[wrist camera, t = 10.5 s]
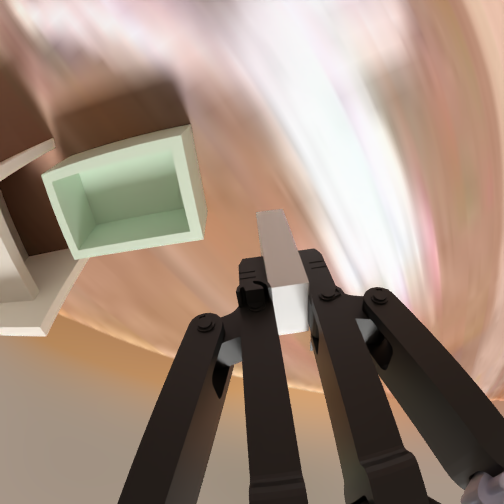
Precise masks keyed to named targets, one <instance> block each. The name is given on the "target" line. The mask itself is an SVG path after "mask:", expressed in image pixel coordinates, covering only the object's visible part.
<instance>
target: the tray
mask: <svg viewBox="0 0 504 504" xmlns="http://www.w3.org/2000/svg"><path fill="white" fill-rule="evenodd" d="M41 176H42V179H43V182H44V185H45V188H46V191H47V194H48V197H49V200H50V202H51V205H52V208H53V210H54V213H55V216H56V218H57V221H58V223H59V226H60V228H61V230H62V233H63V235H64V238H65V240H66V242H67V244H68V247H69V249H70V251H71V253H72V256H73V258H74V260H77V259H83V258H89V257H95V256H101V255H107V254H113V253H119V252H125V251H132V250H138V249H144V248H151V247H157V246H164V245H170V244H177V243H183V242H190V241H197V240H204V233H205V226H206V219H207V212H208V210H207V205H206V201H205V196H204V191H203V186H202V181H201V176H200V171H199V165H198V160H197V155H196V150H195V144H194V139H193V134H192V128H191V124H188V125H183V126H178V127H174V128H169V129H164V130H160V131H156V132H151V133H147V134H143V135H139V136H135V137H131V138H128V139H124V140H120V141H117V142H113V143H110V144H106V145H103V146H100V147H97V148H93V149H90V150H87V151H84V152H81V153H78V154H75V155H72V156H69V157H68V158H66V159H64V160H63V161H61V162H60V163H58V164H57V165H55V166H54V167H52V168H51V169H49V170H48V171H46V172H45V173H43V174H42V175H41Z"/></svg>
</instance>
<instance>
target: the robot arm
mask: <svg viewBox="0 0 504 504" xmlns="http://www.w3.org/2000/svg"><path fill="white" fill-rule="evenodd" d="M256 216H257V225H258V233H259V241H260V249H261V257H254V258H246V259H242V261H241V263H240V264H239V283H240V285H239V286H238V287H237V290H236V294H237V299H238V304H239V307H238V308H237V309H236V310H235V311H234V312H232V313H231V314H229V315H226V316H224V317H221V318H220V317H219V316H218V315H216V314H213V313H204V314H201V315H198V316H196V317H195V318H194V319H192V321H191V322H190V324H189V326H188V328H187V331H186V333H185V335H184V338H183V340H182V342H181V345H180V347H179V349H178V352H177V354H176V356H175V359H174V361H173V364H172V366H171V369H170V371H169V373H168V376H167V378H166V381H165V383H164V385H163V388H162V390H161V393H160V395H159V397H158V400H157V402H156V405H155V407H154V410H153V412H152V415H151V417H150V420H149V422H148V425H147V427H146V430H145V433H144V435H143V437H142V440H141V443H140V445H139V448H138V450H137V453H136V456H135V458H134V461H133V463H132V466H131V469H130V471H129V474H128V477H127V480H126V482H125V485H124V488H123V490H122V493H121V495H120V498H119V501H118V504H196V503H197V500H198V496H199V492H200V489H201V485H202V482H203V478H204V475H205V471H206V467H207V463H208V460H209V456H210V453H211V449H212V446H213V441H214V438H215V435H216V431H217V427H218V423H219V420H220V416H221V412H222V409H223V405H224V401H225V397H226V393H227V390H228V386H229V382H230V379H231V375H232V371H233V367H234V364H236V363H239V362H241V361H242V367H243V383H244V398H245V414H246V428H247V443H248V457H249V470H250V486H249V504H308V500H307V493H306V488H305V483H304V479H303V476H302V471H301V464H300V458H299V452H298V446H297V440H296V434H295V428H294V422H293V415H292V409H291V404H290V398H289V392H288V386H287V380H286V374H285V368H284V363H283V357H282V351H281V345H280V340H279V335H284V334H291V333H298V332H304V331H309V327H310V330H311V343H310V351H314V355H315V359H316V362H317V366H318V370H319V374H320V378H321V382H322V386H323V390H324V395H325V399H326V403H327V407H328V411H329V415H330V419H331V423H332V428H333V432H334V437H335V441H336V445H337V450H338V455H339V459H340V464H341V468H342V473H343V478H344V495H345V502H346V504H441V503H439V502H437V501H435V500H434V499H432V498H430V497H428V496H427V492H426V489H425V485H424V482H423V479H422V475H421V472H420V469H419V466H418V463H417V460H416V458H415V456H414V455H413V454H412V453H411V452H409V451H407V450H406V449H405V448H404V446H403V443H402V440H401V437H400V434H399V431H398V428H397V425H396V422H395V419H394V416H393V414H392V411H391V408H390V405H389V402H388V400H387V397H386V394H385V391H384V389H383V386H382V383H381V381H380V378H379V376H380V377H381V379H382V380H383V382H384V383H385V384H386V386H387V387H388V389H389V390H390V391H391V393H392V394H393V396H394V397H395V398H396V400H397V401H398V403H399V404H400V405H401V407H402V408H403V410H404V411H405V413H406V414H407V415H408V417H409V418H410V420H411V421H412V423H413V424H414V425H415V427H416V428H417V430H418V431H419V433H420V434H421V436H422V437H423V438H424V440H425V441H426V443H427V444H428V446H429V447H430V449H431V450H432V452H433V453H434V455H435V456H436V458H437V459H438V460H439V462H440V463H441V465H442V466H443V468H444V469H445V471H446V472H447V473H448V475H449V476H450V477H451V479H452V480H453V481H455V483H456V484H457V485H459V486H460V487H461V488H462V489H464V490H465V491H464V494H463V495H462V498H461V503H462V504H504V418H503V416H502V415H501V414H500V413H499V411H498V410H497V409H496V407H495V406H494V405H493V404H492V402H491V401H490V400H489V399H488V397H487V396H486V395H485V394H484V393H483V391H482V390H481V389H480V388H479V387H478V385H477V384H476V383H475V382H474V381H473V379H472V378H471V377H470V376H469V375H468V374H467V372H466V371H465V370H464V369H463V368H462V367H461V365H460V364H459V363H458V362H457V361H456V360H455V359H454V358H453V356H452V355H451V354H450V353H449V352H448V351H447V350H446V349H445V348H444V346H443V345H442V344H441V343H440V342H439V341H438V340H437V339H436V338H435V337H434V336H433V334H432V333H431V332H430V331H429V330H428V329H427V328H426V327H425V326H424V325H423V324H422V323H421V322H420V321H419V320H418V319H417V318H416V316H415V315H414V314H413V313H412V312H411V311H410V310H409V309H408V308H407V307H406V306H405V305H404V304H403V303H402V302H401V301H400V300H399V299H398V298H397V297H396V296H395V295H394V294H393V293H392V292H390V291H389V290H388V289H385V288H380V287H375V288H370V289H369V290H367V291H366V292H365V294H364V296H352V295H347V294H344V292H343V291H342V289H341V288H339V287H337V286H336V285H335V283H334V281H333V279H332V276H331V274H330V272H329V270H328V268H327V265H326V263H325V262H324V259H323V257H322V254H321V253H320V252H318V251H317V250H316V249H307V250H300V251H298V249H297V247H296V244H295V241H294V238H293V236H292V233H291V230H290V227H289V225H288V222H287V219H286V217H285V214H284V211H283V209H278V210H270V211H262V212H256ZM378 375H379V376H378Z"/></svg>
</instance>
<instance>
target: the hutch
mask: <svg viewBox="0 0 504 504" xmlns="http://www.w3.org/2000/svg"><path fill="white" fill-rule="evenodd" d="M54 148H56V146H55V142H54V139H53V138H52V139H49V140H47V141H45V142H42V143H40V144H38V145H36V146H33V147H31V148H29V149H27V150H25V151H22V152H20V153H18V154H16V155H14V156H12V157H10V158H8V159H6V160H4V161H2V162H0V181H2V180H3V179H5V178H6V177H8V176H9V175H11V174H12V173H14V172H15V171H17V170H18V169H20V168H22V167H23V166H25V165H27V164H28V163H30V162H32V161H33V160H35V159H37V158H38V157H40V156H42V155H44V154H45V153H47V152H49V151H51V150H53V149H54ZM89 258H90V257H89ZM89 258H83V259H77V260H74V258H73V256H72V253H71V251H70V249H63V250H58V251H53V252H49V253H44V254H39V255H34V256H28V254H27V252H26V250H25V248H24V246H23V243H22V241H21V239H20V237H19V235H18V232H17V230H16V228H15V225H14V223H13V221H12V218H11V216H10V213H9V211H8V208H7V206H6V203H5V200H4V198H3V195H2V192H1V189H0V335H7V336H9V335H10V336H47V334H48V332H49V330H50V328H51V326H52V324H53V322H54V320H55V318H56V316H57V314H58V312H59V310H60V308H61V306H62V305H63V303H64V301H65V299H66V297H67V295H68V294H69V292H70V290H71V288H72V286H73V285H74V283H75V281H76V280H77V278H78V276H79V274H80V273H81V271H82V269H83V268H84V266H85V264H86V263H87V261H88V260H89Z"/></svg>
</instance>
